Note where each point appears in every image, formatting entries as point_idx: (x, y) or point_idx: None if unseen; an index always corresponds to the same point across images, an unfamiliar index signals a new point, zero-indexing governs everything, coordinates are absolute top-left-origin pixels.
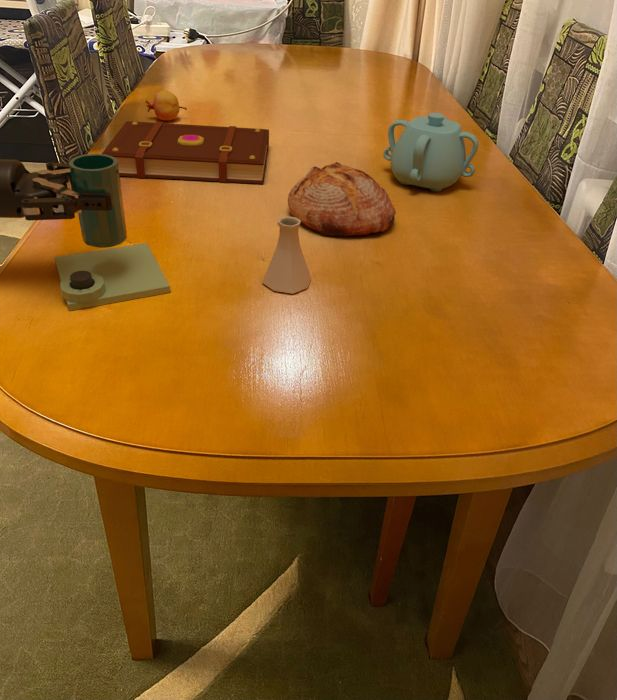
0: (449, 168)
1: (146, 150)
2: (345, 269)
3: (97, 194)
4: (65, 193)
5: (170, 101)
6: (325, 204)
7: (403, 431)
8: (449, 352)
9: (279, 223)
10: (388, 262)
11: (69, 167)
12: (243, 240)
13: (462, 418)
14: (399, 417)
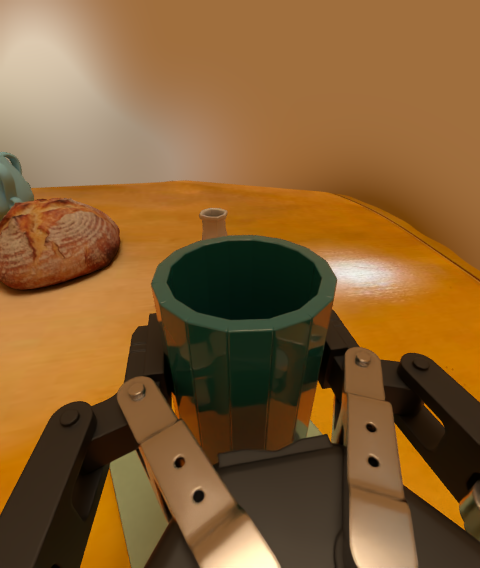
0: (28, 185)
1: None
2: None
3: None
4: (380, 386)
5: None
6: (91, 233)
7: (388, 233)
8: (295, 219)
9: (219, 217)
10: (171, 235)
11: (64, 491)
12: (103, 327)
13: (358, 218)
14: (376, 234)
